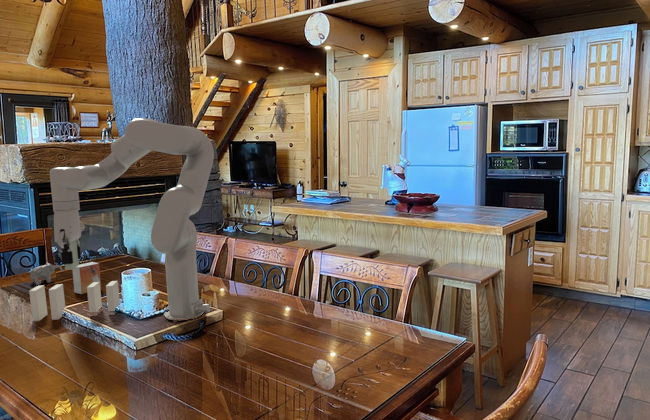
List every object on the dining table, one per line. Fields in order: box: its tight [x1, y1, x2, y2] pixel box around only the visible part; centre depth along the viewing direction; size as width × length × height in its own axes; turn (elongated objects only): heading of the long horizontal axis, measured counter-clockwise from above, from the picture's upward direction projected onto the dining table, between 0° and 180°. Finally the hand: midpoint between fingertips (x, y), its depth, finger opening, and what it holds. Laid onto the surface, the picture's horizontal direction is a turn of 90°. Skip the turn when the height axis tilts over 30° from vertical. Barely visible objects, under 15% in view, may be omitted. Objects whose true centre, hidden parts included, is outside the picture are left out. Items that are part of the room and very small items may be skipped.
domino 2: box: [48, 283, 66, 321], centre depth 160 cm, size 2×6×10 cm, turn 7°
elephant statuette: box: [29, 262, 64, 286], centre depth 204 cm, size 9×12×8 cm
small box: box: [72, 261, 102, 295], centre depth 188 cm, size 8×6×10 cm
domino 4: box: [86, 282, 103, 312], centre depth 161 cm, size 2×6×10 cm, turn 7°
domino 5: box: [105, 280, 121, 312], centre depth 162 cm, size 2×6×10 cm, turn 7°
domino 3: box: [64, 240, 80, 271], centre depth 158 cm, size 2×6×10 cm, turn 7°
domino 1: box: [29, 284, 48, 322], centre depth 159 cm, size 2×6×10 cm, turn 7°
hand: (71, 260), depth 159 cm, fingers closed on domino 3, 5 cm apart
